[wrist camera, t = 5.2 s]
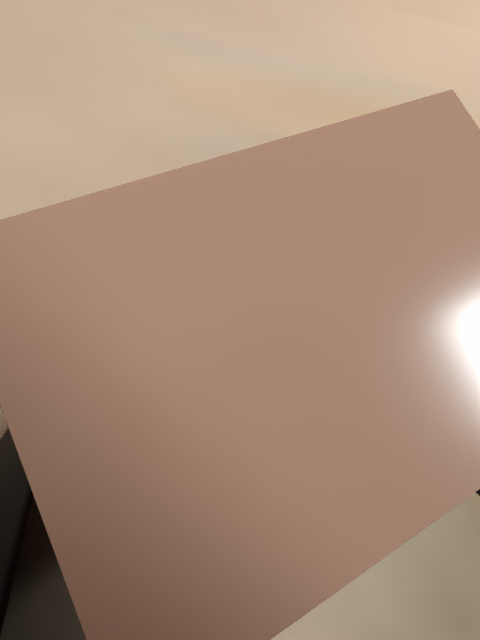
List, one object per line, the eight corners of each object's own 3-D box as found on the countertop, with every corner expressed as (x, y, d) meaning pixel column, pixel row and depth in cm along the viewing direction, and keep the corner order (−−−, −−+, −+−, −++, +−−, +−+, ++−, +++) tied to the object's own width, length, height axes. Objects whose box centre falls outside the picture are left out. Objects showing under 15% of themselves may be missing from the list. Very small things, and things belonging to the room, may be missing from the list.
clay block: (260, 428, 16) (643, 371, 3) (149, 487, 14) (125, 744, 2) (226, 358, 16) (451, 89, 4) (116, 408, 15) (-61, 237, 3)
